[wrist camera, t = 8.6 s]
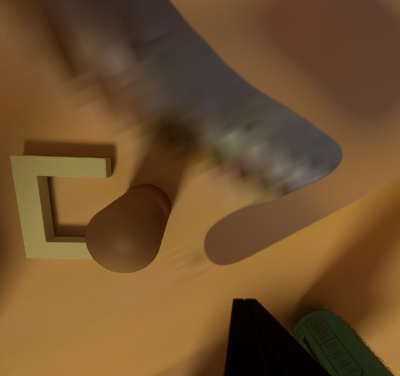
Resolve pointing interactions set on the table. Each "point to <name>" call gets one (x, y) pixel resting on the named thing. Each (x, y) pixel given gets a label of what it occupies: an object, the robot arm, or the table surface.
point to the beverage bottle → (337, 346)
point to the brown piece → (129, 230)
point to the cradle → (40, 201)
